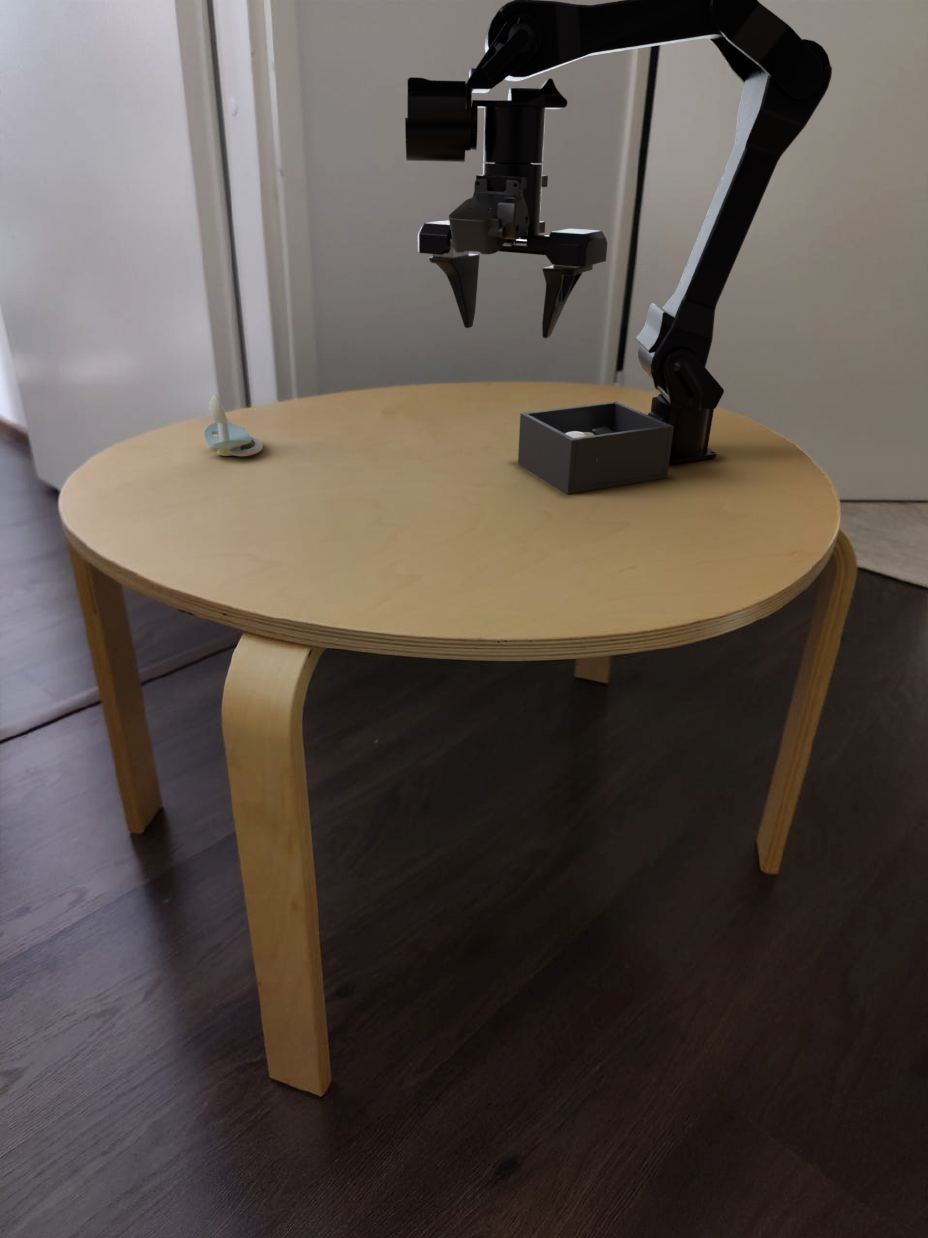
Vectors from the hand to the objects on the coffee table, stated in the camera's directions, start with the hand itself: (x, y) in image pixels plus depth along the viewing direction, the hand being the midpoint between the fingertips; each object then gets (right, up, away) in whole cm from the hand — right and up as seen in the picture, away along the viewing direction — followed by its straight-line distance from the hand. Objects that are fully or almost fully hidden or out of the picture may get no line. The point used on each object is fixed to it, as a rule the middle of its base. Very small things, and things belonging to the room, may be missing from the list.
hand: (506, 332), depth 90 cm
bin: (+9, -14, +2) cm, 17 cm away
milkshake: (+11, -10, +4) cm, 16 cm away
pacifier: (-30, -12, +5) cm, 32 cm away
